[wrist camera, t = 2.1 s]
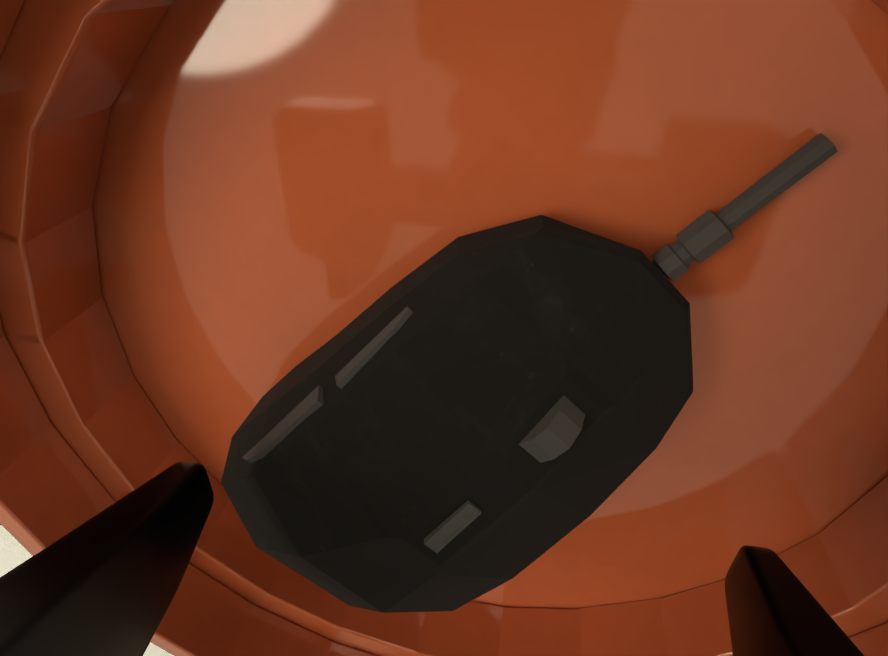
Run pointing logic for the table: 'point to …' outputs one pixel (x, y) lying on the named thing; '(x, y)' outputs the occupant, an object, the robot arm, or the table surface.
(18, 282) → the bowl
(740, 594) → the robot arm
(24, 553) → the table surface
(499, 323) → the gaming mouse
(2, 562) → the table surface
